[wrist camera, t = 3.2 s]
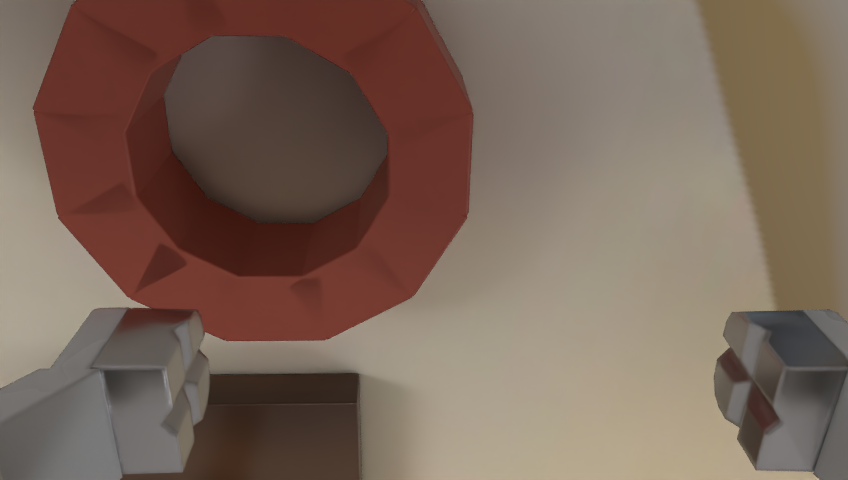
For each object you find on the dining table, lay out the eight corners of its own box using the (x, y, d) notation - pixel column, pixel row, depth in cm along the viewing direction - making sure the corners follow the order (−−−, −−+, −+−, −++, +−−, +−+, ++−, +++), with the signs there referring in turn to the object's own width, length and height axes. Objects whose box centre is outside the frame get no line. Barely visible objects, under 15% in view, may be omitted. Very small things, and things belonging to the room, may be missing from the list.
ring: (55, -77, 18) (-10, -66, 15) (468, -72, 18) (482, -59, 15) (124, 281, 22) (85, 342, 19) (454, 280, 23) (462, 340, 20)
